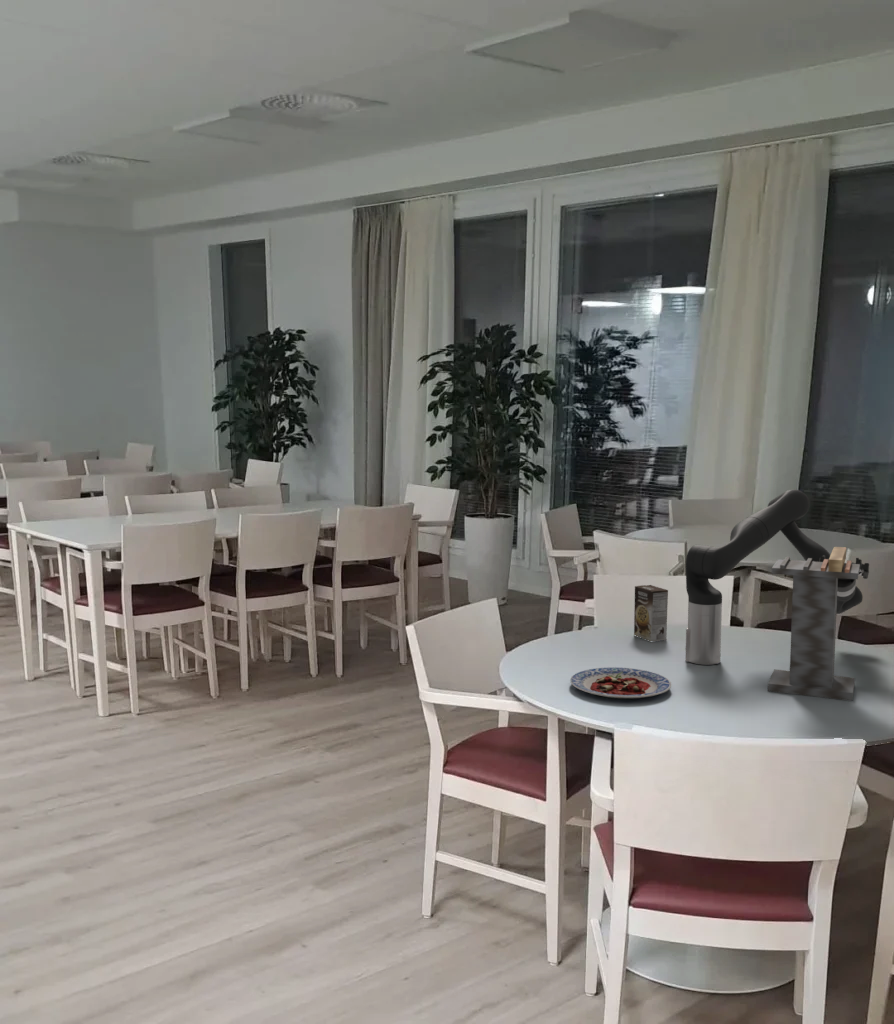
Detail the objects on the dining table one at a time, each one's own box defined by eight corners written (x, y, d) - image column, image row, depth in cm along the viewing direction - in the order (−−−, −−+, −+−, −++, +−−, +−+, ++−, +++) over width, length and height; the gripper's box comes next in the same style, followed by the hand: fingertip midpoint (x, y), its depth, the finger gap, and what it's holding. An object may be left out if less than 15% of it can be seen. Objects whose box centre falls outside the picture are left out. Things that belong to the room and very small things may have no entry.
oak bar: (828, 571, 235) (828, 559, 234) (833, 557, 254) (834, 546, 254) (841, 572, 233) (841, 560, 233) (845, 558, 253) (846, 547, 253)
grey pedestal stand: (767, 690, 244) (771, 564, 240) (773, 676, 256) (778, 556, 253) (852, 700, 235) (858, 570, 232) (854, 685, 248) (860, 561, 244)
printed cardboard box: (632, 636, 301) (633, 586, 299) (649, 633, 304) (650, 584, 302) (650, 642, 293) (651, 591, 291) (667, 640, 296) (668, 589, 294)
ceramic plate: (672, 708, 232) (673, 696, 231) (566, 702, 237) (566, 690, 237) (669, 677, 257) (670, 667, 256) (573, 673, 262) (573, 662, 262)
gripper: (816, 566, 276) (813, 545, 262) (869, 569, 270) (869, 548, 256) (814, 590, 273) (811, 571, 260) (868, 594, 267) (868, 574, 254)
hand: (840, 559), depth 258 cm, fingers open, 8 cm apart
